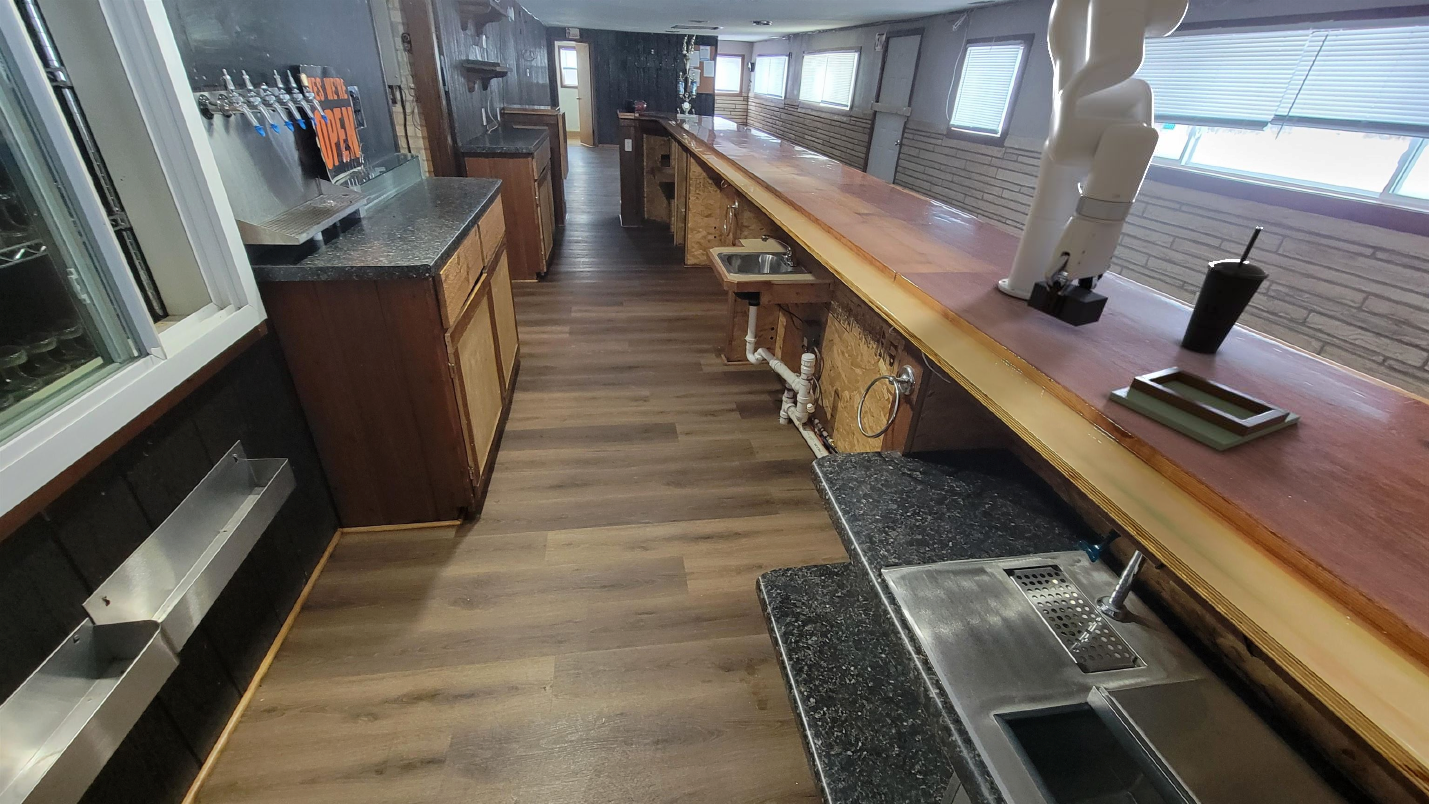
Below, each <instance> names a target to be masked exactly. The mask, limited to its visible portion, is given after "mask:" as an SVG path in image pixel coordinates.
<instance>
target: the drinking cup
mask: <svg viewBox="0 0 1429 804" xmlns="http://www.w3.org/2000/svg"><path fill="white" fill-rule="evenodd" d="M1262 229H1263V227H1256V228H1255V230H1254V232H1253V233H1252V236H1251V238H1250V239H1249V241H1248V242H1247V243H1248V244H1247V245H1246V247H1245V249H1244V251H1243V253H1242V255H1241V257H1240V259H1225V260H1220V261H1213V262H1209V263H1207V266H1206V268H1207V272H1206V275H1205V277H1204V280H1203V282H1202V285H1201V288H1200V291H1199V293H1198V296H1197V299H1196V302H1195V304H1194V307H1193V309H1192V313H1191V316H1190V318H1189V321H1188V324H1187V327H1186V329H1185V332H1184V335H1183V336H1182V337H1183V338H1182V341H1181V344H1180V345H1181V346H1182V347H1183V348H1185V349H1187V350H1190V351H1193V352H1196V353H1201V354H1207V355H1210V354H1212V355H1213V354H1216V353H1217V351H1218V350H1219V348H1220V347H1221V346H1222V344H1223V343H1224V341H1225V340H1226V338H1227V337H1228V335H1229V333H1230V332H1231V330H1232V329H1233V328H1234V327H1235V325H1236V323H1237V322H1238V320H1239V319H1240V317H1241V316H1242V314H1243V312H1244V311H1245V309H1246V308H1247V307H1248V305H1249V303H1250V302H1251V301H1252V299H1253V298H1254V296H1255V294H1256V293H1257V291H1258V290H1259V288H1260V287H1261V286H1262V284H1263V283H1264V281H1265V280H1267V279H1268V278H1269V276H1270V273H1269V272H1267V271H1266V270H1264V269H1262V267H1260V266H1258V265H1257V264H1255V263H1252V262H1249V261H1247V259H1248V257H1249V255H1250V253H1251V251H1252V249H1253V247H1254V245H1255V243H1256V242H1257V240H1258V237H1259V235H1260V233H1261V232H1262Z"/></svg>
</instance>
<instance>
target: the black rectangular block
mask: <svg viewBox="0 0 1429 804" xmlns="http://www.w3.org/2000/svg"><path fill="white" fill-rule="evenodd" d="M1059 281H1060V283H1061V285H1063V284H1064V282H1065V281H1063V280H1059ZM1076 285H1077V284H1074V283H1071V285H1070V286H1069V288H1068V289H1067V291H1066V293H1065V294H1064V295H1066V299H1065V301H1064V304H1063V307H1062V309H1061V312H1060V314H1059V316H1057V317H1054V316H1052V315H1049V314H1047V313H1045V312H1043V311H1042V310H1041V309H1042V306H1043V304H1044V301H1045V298H1046V295H1047V293H1048V290H1047V287H1048V286H1047V281H1041V282H1035V284H1034V287H1033V290H1032V293H1031V296H1030V298H1029V300H1027V301H1028V302H1027V305H1026V306H1027V307H1029V308H1032V309H1034V310H1037V311H1039V312H1041V313H1043V314H1046V315H1047V316H1049V317H1052V318H1055V319H1056V320H1059V321H1061V322H1064V323H1066V324H1068V325H1071V326H1073V327H1075V328H1077V327H1080V326H1084V325H1089V324H1093V323H1098V322H1099V321H1100V318H1101V316H1102V313H1103V312H1104V309H1105V308H1106V305H1107V302H1108V300H1109V296H1105V295H1103V294H1100V293H1097V292H1094V291H1093V290H1092V291H1089V290H1087V289H1084V288H1081V287H1079V286H1076Z"/></svg>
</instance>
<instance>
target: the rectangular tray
mask: <svg viewBox="0 0 1429 804" xmlns="http://www.w3.org/2000/svg"><path fill="white" fill-rule="evenodd" d="M1108 399H1110V400H1112V401H1114V402H1116V403H1118V404H1120V405H1123V406H1125V407H1127V408H1129V409H1131V410H1133V411H1135V412H1137V413H1139V414H1142V415H1143V416H1146V417H1148V418H1149V419H1151V420H1155V421H1156V422H1158V423H1160V424H1162V425H1165V426H1166V427H1169V428H1171V429H1173V430H1174V431H1177V432H1179V433H1182V434H1184V435H1185V436H1188V437H1190V438H1192V439H1194V440H1196V441H1199V442H1200V443H1202V444H1205V445H1207V446H1208V447H1211V448H1212V449H1215V450H1217V451H1219V452H1222V451H1224V450H1227V449H1230V448H1234V447H1236V446H1238V445H1241V444H1245V443H1246V442H1249V441H1251V440H1252V441H1253V440H1255V439H1257V438H1260V437H1262V436H1266V435H1267V434H1270V433H1273V432H1275V431H1278V430H1281V429H1284V428H1286V427H1288V426H1292V425H1295V424H1297V423H1298V422H1299V420H1300V419H1301V417H1302V415H1299V414H1296V413H1294V412H1291V411H1289V410H1287V409H1284V408H1281V407H1279V406H1277V405H1275V404H1271V403H1268V402H1266V401H1264V400H1261V399H1259V398H1256V397H1254V396H1251V395H1249V394H1246V393H1243V392H1241V391H1239V390H1236V389H1234V388H1230V387H1228V386H1226V385H1223V384H1221V383H1218V382H1215V381H1213V380H1211V379H1208V378H1205V377H1203V376H1200V375H1197V374H1195V373H1193V372H1190V371H1187V370H1185V369H1183V368H1181V367H1177V366H1174V367H1170V368H1167V369H1166V368H1165V369H1162V370H1158V371H1155V372H1150V373H1147V374H1143V375H1140V376H1139V375H1138V376H1135V377H1133V379H1132V381H1131V383H1130V385H1129V386H1127V387H1124V388H1120V389H1117V390H1113V391H1111V392H1110V393H1109V396H1108Z"/></svg>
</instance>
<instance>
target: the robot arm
mask: <svg viewBox="0 0 1429 804" xmlns="http://www.w3.org/2000/svg"><path fill="white" fill-rule="evenodd" d="M1189 2H1190V0H1053V3H1052V6H1051V10H1050V13H1049V18H1048V26H1047V42H1048V43H1047V44H1048V50H1049V54H1050V57H1051V61H1052V65H1053V73H1054V74H1053V87H1052V107H1051V109H1052V110H1051V114H1050V119H1049V128H1048V137H1047V138H1046V140H1045V142H1044V144H1043V146H1042V150H1041V155H1040V162H1039V169H1038V175H1037V181H1036V184H1035V185H1036V186H1035V190H1034V194H1033V198H1032V201H1031V205H1030V208H1029V211H1028V215H1027V217H1026V221H1025V224H1024V228H1023V231H1022V234H1021V237H1020V240H1019V242H1018V247H1017V250H1016V254H1015V257H1014V259H1013V263H1012V266H1011V270H1010V273H1009V276H1008V278H1004V279H1001V280H999V282H998V285H997V286H998V287H997V288H998V289H999V290H1000V291H1001V292H1003V293H1004V294H1007V295H1009V296H1011V297H1015V298H1019V299H1023V300H1026V301H1029V298H1030V296H1031V293H1032V290H1033V287H1034V284H1035V282H1041V281H1047V286H1048V287H1047V290H1048V293H1047V295H1046V298H1045V301H1044V304H1043V306H1042V309H1041V310H1042V311H1043V312H1045V313H1047V314H1046V315H1048V314H1049V315H1048V316H1050V315H1052V316H1054V317H1057V316H1059V314H1060V312H1061V309H1062V307H1063V304H1064V301H1065V299H1066V295H1064V294H1065V293H1066V291H1067V289H1068V288H1069V286H1070V285H1071V284H1073V282H1074V281H1075V280H1077V284H1075V285H1076V286H1079V287H1081V288H1084V289H1087V290H1089V291H1092V292H1093V291H1094V290H1095V289H1096V288H1097V286H1098V282H1099V281H1101V279H1102V278H1103V277H1104V274H1105V273H1106V272H1108V270H1109V269H1110V268H1111V267H1112V266H1111V265H1112V264H1111V262H1112V260H1113V257H1114V255H1115V252H1116V249H1117V247H1118V244H1119V241H1120V238H1121V235H1122V232H1123V227H1124V224H1125V223H1126V222H1127V219H1128V217H1129V215H1130V212H1131V210H1132V207H1133V205H1134V202H1135V200H1136V197H1137V196H1138V193H1139V190H1140V188H1141V185H1142V183H1143V181H1144V178H1145V176H1146V173H1147V171H1148V168H1149V166H1150V164H1151V162H1152V159H1153V157H1154V155H1155V152H1156V150H1157V147H1158V145H1159V142H1160V139H1161V132H1160V130H1159V129H1158V128H1156V127H1154V92H1153V88H1152V86H1151V85H1150V84H1149V82H1147V81H1146V80H1145V79H1141V78H1138V77H1133V76H1134V75H1135V74H1136V73H1137V72H1138V71H1139V70H1140V68H1141V67H1142V65H1143V62H1144V59H1145V43H1146V42H1145V41H1146V40H1145V39H1146V38H1162V37H1166V36H1168V35H1170V34H1171V33H1172V32H1174V31H1175V30H1176V29H1177V28H1178V26H1179V25H1180V24H1181V23H1182V21H1183V19H1184V17H1185V16H1186V12H1187V10H1188V7H1189ZM1081 184H1083V187H1082V190H1081V188H1080V185H1081ZM1059 280H1063V281H1065V282H1064V284H1063V285H1061V283H1060V281H1059ZM1043 312H1042V313H1043ZM1045 313H1044V314H1045ZM1052 316H1051V317H1052ZM1054 317H1053V318H1054Z"/></svg>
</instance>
